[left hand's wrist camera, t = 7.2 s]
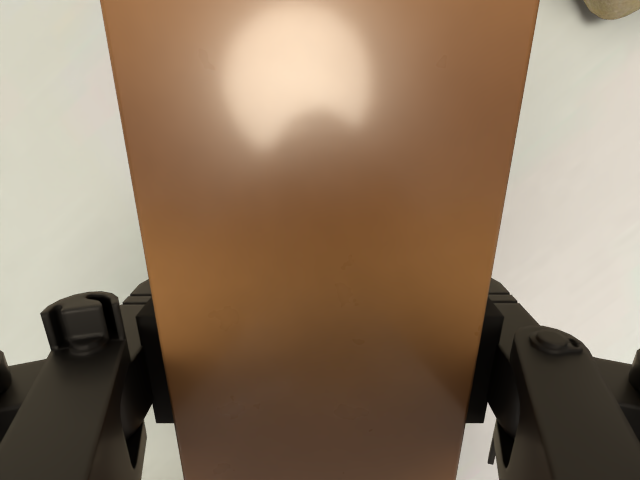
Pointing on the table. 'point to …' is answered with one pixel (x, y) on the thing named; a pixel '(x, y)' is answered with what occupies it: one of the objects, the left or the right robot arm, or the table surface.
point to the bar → (319, 221)
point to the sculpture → (612, 8)
